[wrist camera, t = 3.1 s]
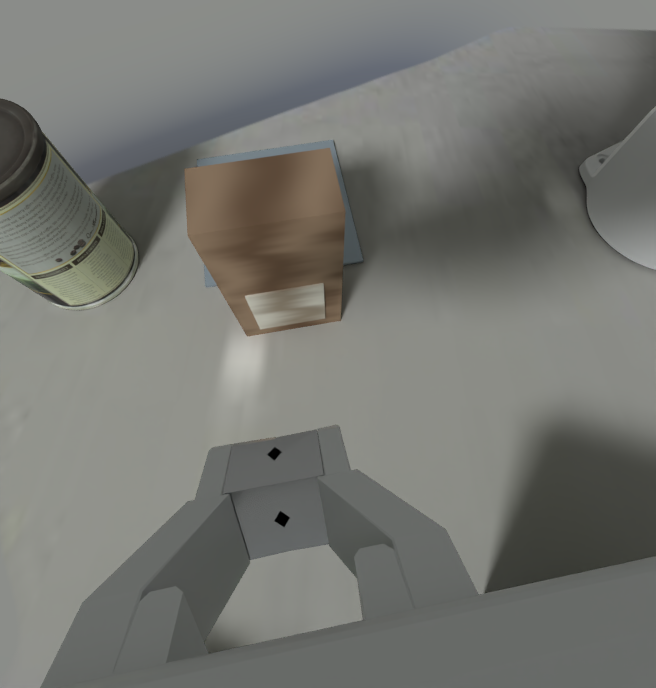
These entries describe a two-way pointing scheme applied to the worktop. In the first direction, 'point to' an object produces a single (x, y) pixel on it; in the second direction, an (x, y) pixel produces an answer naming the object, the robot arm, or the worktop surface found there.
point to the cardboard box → (271, 237)
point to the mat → (350, 238)
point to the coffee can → (56, 222)
